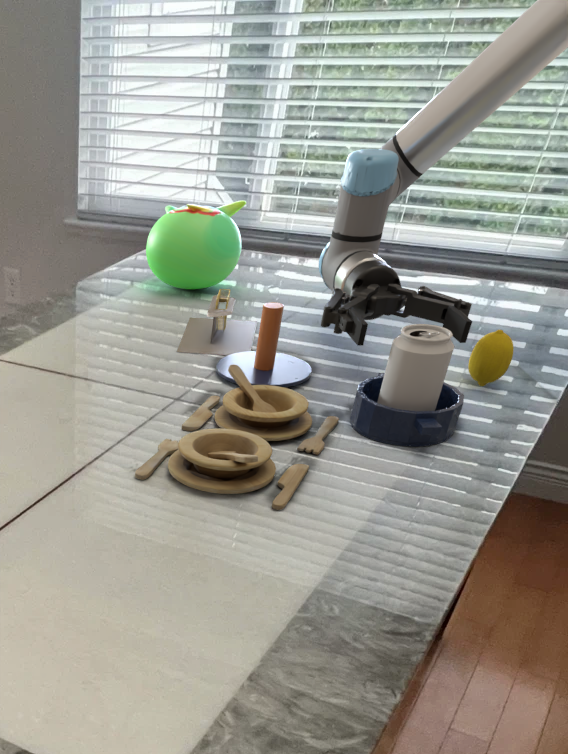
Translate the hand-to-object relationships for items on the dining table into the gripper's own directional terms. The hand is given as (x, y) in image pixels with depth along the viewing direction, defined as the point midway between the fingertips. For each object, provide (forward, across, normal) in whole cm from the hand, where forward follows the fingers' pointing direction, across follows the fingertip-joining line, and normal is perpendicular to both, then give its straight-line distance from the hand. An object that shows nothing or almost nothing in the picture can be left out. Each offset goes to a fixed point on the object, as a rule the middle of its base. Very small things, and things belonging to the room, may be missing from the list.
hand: (414, 333), depth 111 cm
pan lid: (-16, +15, -10) cm, 24 cm away
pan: (+4, 0, -11) cm, 12 cm away
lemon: (-9, -16, -11) cm, 21 cm away
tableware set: (+10, +23, -11) cm, 28 cm away
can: (+4, 0, -10) cm, 11 cm away
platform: (-34, +19, -11) cm, 41 cm away
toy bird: (-63, +20, -11) cm, 67 cm away
